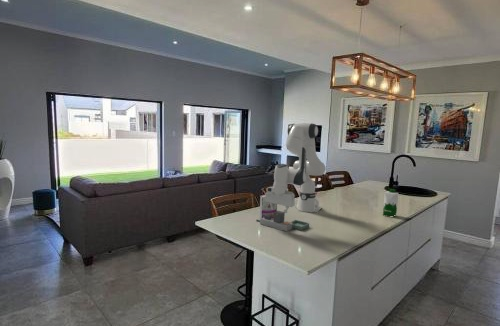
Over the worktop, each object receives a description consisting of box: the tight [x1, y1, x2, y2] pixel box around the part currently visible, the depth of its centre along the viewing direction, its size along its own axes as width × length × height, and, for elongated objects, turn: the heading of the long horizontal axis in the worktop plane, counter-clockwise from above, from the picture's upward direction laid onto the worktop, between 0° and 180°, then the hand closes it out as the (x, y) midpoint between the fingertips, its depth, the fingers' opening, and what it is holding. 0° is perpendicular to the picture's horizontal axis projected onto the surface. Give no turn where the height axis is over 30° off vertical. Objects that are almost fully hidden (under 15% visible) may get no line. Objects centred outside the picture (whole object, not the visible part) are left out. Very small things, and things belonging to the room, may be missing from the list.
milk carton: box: [382, 188, 399, 217], centre depth 221 cm, size 9×9×20 cm
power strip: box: [256, 215, 293, 232], centre depth 189 cm, size 26×7×6 cm, turn 52°
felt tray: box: [289, 219, 310, 232], centre depth 188 cm, size 10×10×2 cm
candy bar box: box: [259, 194, 278, 220], centre depth 203 cm, size 11×5×16 cm, turn 105°
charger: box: [273, 210, 286, 223], centre depth 186 cm, size 5×5×8 cm
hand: (278, 211), depth 185 cm, fingers open, 8 cm apart
